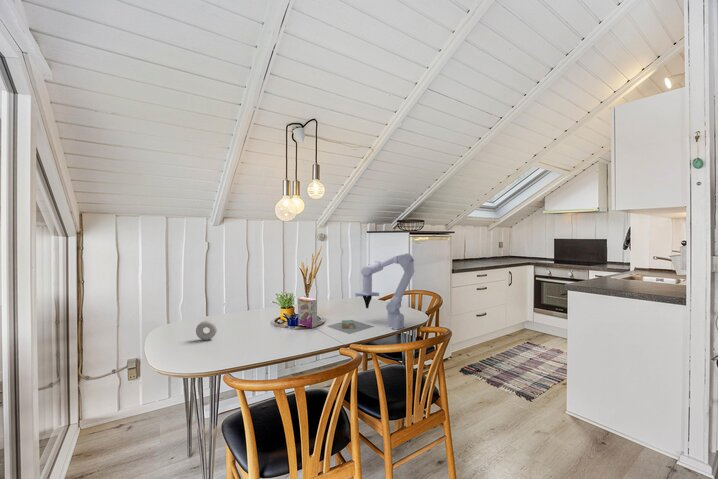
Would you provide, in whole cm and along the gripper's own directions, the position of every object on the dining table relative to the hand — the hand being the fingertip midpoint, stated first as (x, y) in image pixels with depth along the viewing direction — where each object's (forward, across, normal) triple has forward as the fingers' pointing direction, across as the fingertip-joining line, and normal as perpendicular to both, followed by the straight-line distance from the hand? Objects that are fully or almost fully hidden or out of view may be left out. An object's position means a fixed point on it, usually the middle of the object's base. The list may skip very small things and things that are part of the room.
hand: (367, 307), depth 204 cm
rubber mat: (+9, -11, -8) cm, 16 cm away
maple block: (+7, -9, -9) cm, 14 cm away
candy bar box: (+10, -36, -4) cm, 37 cm away
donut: (+10, -86, -25) cm, 90 cm away
